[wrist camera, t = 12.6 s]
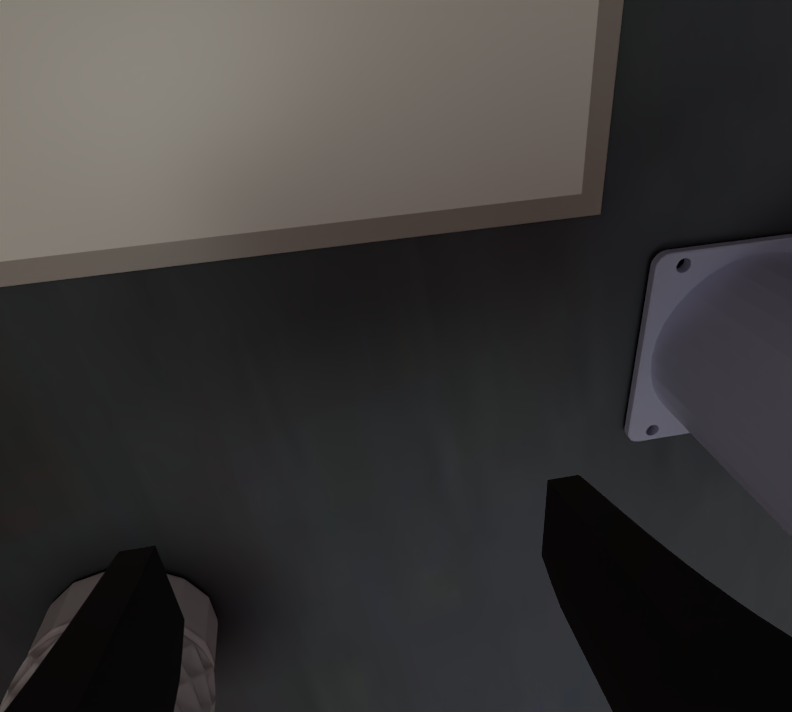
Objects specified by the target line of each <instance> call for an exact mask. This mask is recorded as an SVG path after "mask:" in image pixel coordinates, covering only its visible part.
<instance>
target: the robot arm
mask: <svg viewBox="0 0 792 712" xmlns="http://www.w3.org/2000/svg"><path fill="white" fill-rule="evenodd" d="M682 259H684V263H683V265H681V266H680V267H679V268H676V266H677V264H678V262H679V261H680V260H682ZM650 426H652V427H651V428H649V427H650ZM647 428H649V429H647ZM624 430H625V434H626V435H627V436H628V437H629V439H630V440H632V441H643V440H649V439H655V438H662V437H668V436H674V435H680V434H686V433H691V434H692V435H693V436H694V437H695V438H696V440H697V441H698V442H699V443H700V444H701V445H702V446H703V447H704V448H705V449H706V450H707V451H708V452H709V453H710V454H711V455H712V456H713V457H714V458H715V459H716V460H717V461H718V462H719V463H720V464H721V465H722V466H723V467H724V468H725V469H726V470H727V471H728V472H729V474H730V475H731V476H732V477H733V478H734V479H735V480H736V481H737V482H738V483H739V484H740V485H741V486H742V487H743V488H744V489H745V490H746V491H747V492H748V493H749V494H750V495H751V496H752V497H753V498H754V499H755V500H756V501H757V502H758V503H759V504H760V505H761V506H762V508H763V509H764V510H765V511H766V512H767V513H768V514H769V515H770V516H771V517H772V518H773V519H774V520H775V521H776V522H777V523H778V524H779V525H780V526H781V527H782V528H783V529H784V530H785V531H786V532H787V533H788V534H789V535H790V536H791V537H792V234H786V235H778V236H770V237H763V238H755V239H747V240H739V241H732V242H724V243H716V244H708V245H701V246H693V247H685V248H677V249H669V250H665V251H662V252H660V253H659V254H657V255H656V256H655V257H654V259H653V260H652V263H651V266H650V272H649V278H648V284H647V291H646V297H645V303H644V309H643V316H642V322H641V328H640V334H639V341H638V347H637V353H636V359H635V366H634V372H633V378H632V384H631V391H630V397H629V403H628V409H627V416H626V422H625V428H624ZM542 558H543V560H544V563H545V566H546V569H547V572H548V574H549V577H550V580H551V583H552V586H553V588H554V591H555V594H556V596H557V599H558V601H559V604H560V607H561V609H562V611H563V613H564V615H565V617H566V619H567V621H568V623H569V625H570V627H571V629H572V631H573V633H574V635H575V637H576V639H577V641H578V643H579V645H580V647H581V649H582V651H583V653H584V655H585V657H586V659H587V661H588V663H589V665H590V667H591V669H592V671H593V673H594V675H595V677H596V679H597V681H598V683H599V685H600V687H601V689H602V691H603V693H604V695H605V697H606V699H607V701H608V703H609V705H610V707H611V709H612V711H613V712H792V637H791V636H789V635H788V634H786V633H784V632H783V631H781V630H780V629H778V628H777V627H775V626H774V625H772V624H770V623H769V622H767V621H766V620H764V619H763V618H761V617H759V616H758V615H756V614H755V613H753V612H752V611H750V610H749V609H748V608H746V607H745V606H743V605H742V604H740V603H739V602H737V601H736V600H734V599H733V598H732V597H730V596H729V595H728V594H726V593H725V592H723V591H722V590H721V589H719V588H718V587H717V586H715V585H714V584H712V583H711V582H710V581H708V580H707V579H705V578H704V577H703V576H701V575H700V574H699V573H698V572H696V571H695V570H694V569H692V568H691V567H690V566H688V565H687V564H686V563H684V562H683V561H682V560H681V559H679V558H678V557H677V556H676V555H674V554H673V553H672V552H671V551H669V550H668V549H667V548H666V547H664V546H663V545H662V544H660V543H659V542H658V541H657V540H655V539H654V538H653V537H652V536H651V535H649V534H648V533H647V532H646V531H644V530H643V529H642V528H641V527H640V526H638V525H637V524H636V523H635V522H634V521H632V520H631V519H630V518H629V517H628V516H627V515H625V514H624V513H623V512H622V511H621V510H619V509H618V508H617V507H616V506H615V505H614V504H612V503H611V502H610V501H609V500H608V499H607V498H605V497H604V496H603V495H602V494H601V493H600V492H598V491H597V490H596V489H595V488H594V487H593V486H591V485H590V484H589V483H588V482H587V481H586V480H584V479H583V478H582V477H581V476H579V475H576V476H570V477H564V478H558V479H552V480H548V484H547V496H546V509H545V521H544V533H543V546H542ZM184 623H185V619H184V617H183V614H182V612H181V609H180V607H179V604H178V602H177V599H176V597H175V594H174V592H173V589H172V587H171V584H170V582H169V579H168V577H167V574H166V572H165V569H164V567H163V564H162V562H161V559H160V557H159V554H158V552H157V549H156V547H155V546H151V547H145V548H139V549H133V550H127V551H121V552H119V553H118V554H117V555H116V557H115V558H114V559H113V561H112V562H111V564H110V565H109V567H108V568H107V569H106V571H105V572H104V574H103V575H102V577H101V578H100V580H99V581H98V583H97V584H96V586H95V587H94V588H93V590H92V591H91V593H90V594H89V596H88V597H87V599H86V600H85V602H84V603H83V605H82V606H81V607H80V609H79V610H78V612H77V613H76V615H75V616H74V617H73V619H72V620H71V622H70V623H69V625H68V626H67V628H66V629H65V630H64V632H63V633H62V634H61V636H60V637H59V639H58V640H57V641H56V643H55V644H54V646H53V647H52V648H51V650H50V651H49V652H48V654H47V655H46V657H45V658H44V659H43V661H42V662H41V663H40V665H39V666H38V668H37V669H36V670H35V672H34V673H33V674H32V676H31V677H30V678H29V680H28V681H27V682H26V684H25V685H24V686H23V688H22V689H21V690H20V692H19V693H18V694H17V695H16V697H15V698H14V699H13V701H12V702H11V703H10V704H9V706H8V707H7V708H6V709H5V711H4V712H174V708H175V703H176V698H177V692H178V687H179V681H180V673H181V662H182V651H183V637H184Z"/></svg>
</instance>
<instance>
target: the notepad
mask: <svg viewBox="0 0 792 712" xmlns="http://www.w3.org/2000/svg"><path fill="white" fill-rule="evenodd" d="M623 2H624V0H0V287H4V286H12V285H20V284H29V283H37V282H45V281H53V280H62V279H70V278H78V277H86V276H95V275H103V274H111V273H120V272H128V271H136V270H144V269H153V268H161V267H169V266H177V265H186V264H194V263H202V262H211V261H219V260H227V259H235V258H244V257H252V256H260V255H268V254H277V253H285V252H293V251H302V250H310V249H318V248H326V247H335V246H343V245H351V244H359V243H368V242H376V241H384V240H393V239H401V238H409V237H417V236H426V235H434V234H442V233H450V232H459V231H467V230H475V229H484V228H492V227H500V226H508V225H517V224H525V223H533V222H541V221H550V220H558V219H566V218H575V217H583V216H591V215H599V214H601V204H602V195H603V186H604V177H605V167H606V158H607V149H608V140H609V131H610V121H611V112H612V103H613V94H614V85H615V75H616V66H617V57H618V48H619V38H620V29H621V20H622V11H623Z"/></svg>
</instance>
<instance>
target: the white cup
mask: <svg viewBox="0 0 792 712" xmlns="http://www.w3.org/2000/svg"><path fill="white" fill-rule="evenodd" d="M103 574H104V572H102V573H99V574H96V575H94V576H91V577H88V578H85V579H83V580H80V581H77V582H74V583H73V584H72V585H71V586H69V587H68V588H67V589H66V590H65V591H64V592H63V593H62V594H61V595H60V596H59V597H58V598H57V599H56V600H55V601H54V602H53V603H52V604H51V605H50V607H49V609H48V611H47V613H46V615H45V618H44V620H43V622H42V624H41V626H40V629H39V631H38V633H37V635H36V637H35V639H34V642H33V644H32V646H31V648H30V651H29V653H28V656H27V658H26V659H25V661H24V662H23V664H22V665H21V667H20V668H19V670H18V672H17V673H16V675H15V677H14V678H13V680H12V682H11V684H10V685H9V688H8V690H7V692H6V694H5V696H4V699H3V701H2V703H1V706H0V712H4V711H5V709H6V708H7V707H8V706H9V704H10V703H11V702H12V701H13V699H14V698H15V697H16V695H17V694H18V693H19V692H20V690H21V689H22V688H23V686H24V685H25V684H26V682H27V681H28V680H29V678H30V677H31V676H32V674H33V673H34V672H35V670H36V669H37V668H38V666H39V665H40V663H41V662H42V661H43V659H44V658H45V657H46V655H47V654H48V652H49V651H50V650H51V648H52V647H53V646H54V644H55V643H56V641H57V640H58V639H59V637H60V636H61V634H62V633H63V632H64V630H65V629H66V628H67V626H68V625H69V623H70V622H71V620H72V619H73V617H74V616H75V615H76V613H77V612H78V610H79V609H80V607H81V606H82V605H83V603H84V602H85V600H86V599H87V597H88V596H89V594H90V593H91V591H92V590H93V588H94V587H95V586H96V584H97V583H98V581H99V580H100V578H101V577H102V575H103ZM167 577H168V579H169V582H170V584H171V587H172V589H173V592H174V594H175V597H176V599H177V602H178V604H179V607H180V609H181V612H182V614H183V617H184V619H185V623H184V637H183V651H182V662H181V673H180V681H179V687H178V692H177V698H176V703H175V708H174V712H214V710H215V677H214V666H215V654H216V641H217V628H218V620H217V617H216V614H215V612H214V609H213V607H212V604H211V601H210V599H209V597H208V596H207V595H205V594H204V593H203V592H201V591H200V590H199V589H197V588H196V587H195V586H194V585H192V584H191V583H189V582H188V581H187V580H185V579H184V578H180V577H177V576H173V575H169V574H167Z"/></svg>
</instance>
